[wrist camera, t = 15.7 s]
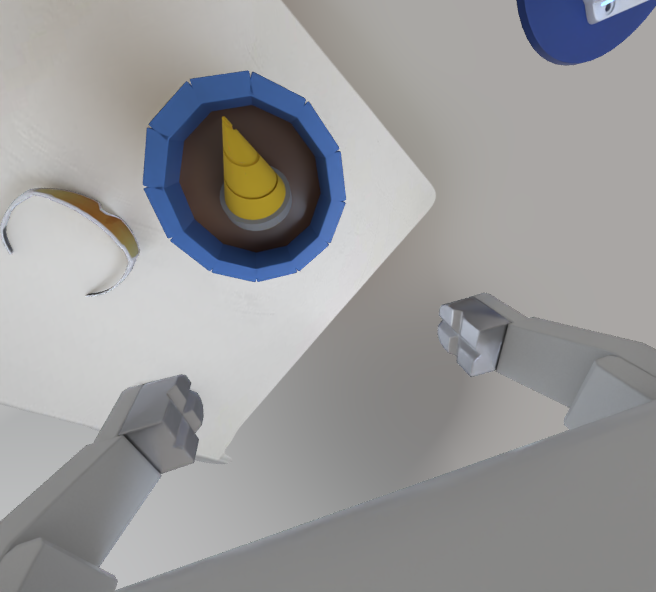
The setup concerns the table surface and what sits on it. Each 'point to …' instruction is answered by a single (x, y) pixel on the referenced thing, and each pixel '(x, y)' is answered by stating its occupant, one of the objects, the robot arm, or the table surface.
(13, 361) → the table surface
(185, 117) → the blue segmented ring
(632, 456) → the robot arm
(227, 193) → the yellow tiered cone
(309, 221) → the stand
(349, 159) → the table surface
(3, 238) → the sunglasses
